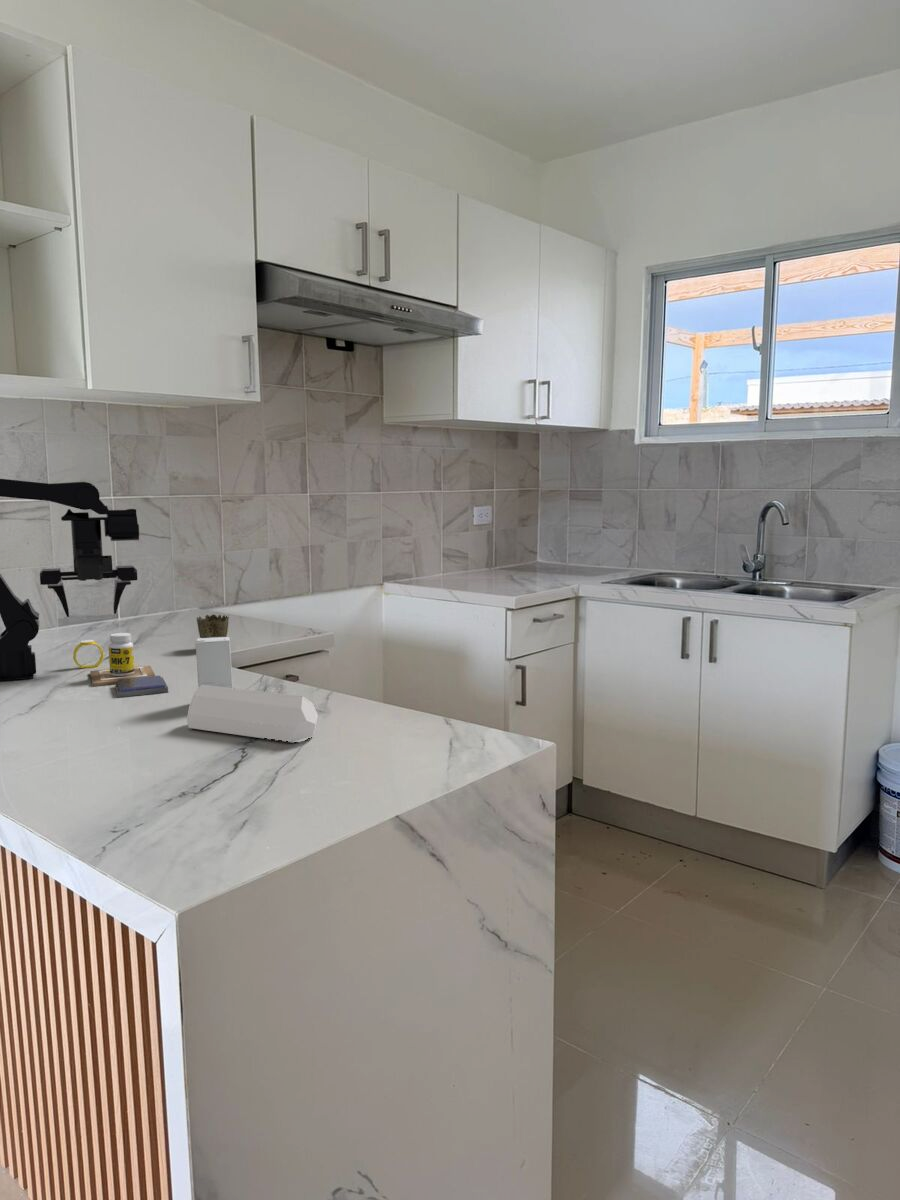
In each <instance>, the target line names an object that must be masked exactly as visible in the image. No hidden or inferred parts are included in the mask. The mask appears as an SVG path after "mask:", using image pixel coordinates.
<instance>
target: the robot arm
mask: <svg viewBox="0 0 900 1200" xmlns="http://www.w3.org/2000/svg"><path fill="white" fill-rule="evenodd" d="M0 497H1V498H12V499H22V500H25V499H26V500H33V501H34V500H36V501H42V502H43V501H45V502H51V503H55V504H56V503H57V504H58V505H61V506H62V505H63V506H67V507H71V508H75V509H79V510H83V512H82V511H81V512H80V511H79V512H78V511H77V512H73V511H72V510H71V509H70V508H68V509H67V511H66V512H65V513H64V515H62V516H61V517H60V520H61V521H63V522H68V521H69V522H70V526H71V528H70V529H71V540H72V544H71V545H72V558H73V570H72V571H71V570H70V571H68V570H67V571H61V568H59V567H58V568H42V569H41V570H40V572H39V581H40V582H39V583H40V586H41V585H43V586H44V585H45V586H47V589H53V591H54V592H55V594H56V595H57V597H58V599H59V601H60V604H61V606H62V608H63V611H64V613H65V615H66V617H67V618H70V612H69V605H68V601H67V595H66V591H65V587H64V582H63V581H74V580H77V581H80V582H86V581H89V580H95V581H101V580H103V579H114V589H113V591H114V592H113V603H112V604H113V606H112V607H113V614H114V615H117V612H118V608H119V604H120V602H121V597H122V595H123V592H124V590H125V588H126V587H127V585H128V586H129V585H132V582H131V581H134V582H135V581H138V569H137V568H136V567H135V566H134V565H132V564H131V565H116V566H115V569H113V558H112V555H103V542H102V541H103V538H102V525H101V524H102V523H101V521H103V530H104V532H103V533H104V537H109V538H110V542H123V541H126V542H128V541H133V542H134V541H139V540H140V525H139V523H138V515H137V509H136V508H126V509H109V508H108V505H105V504H104V502H103V501H102V500H101V499H100V491H99V490H98V488H97V487H96V486H95V484H93V483H91V482H87V481H74V482H59V483H57V482H56V483H55V482H53V483H47V482H38V481H37V482H36V481H29V480H28V481H27V480H17V479H7V478H0ZM88 510H89V511H90V510H91V511H92V512H95V514H98V515H106V516H90V515H89V512H84V511H88ZM0 617H1V620H2V623H3V625H4V627H5V630H3V631H2V632H1V633H0V682H4V681H16V680H27V679H34V677H35V675H36V674H37V663H36V660H37V659H36V652H34V651H33V649H32V645H30V644H29V643H30V642H31V641H33V640H34V639H35V638H36V637H37V635H38V634H39V630H40V620H39V619H40V613H39V612H38V611H36V609H34V606H33V604H32V603H31V601H30V599H29V598H26V599H25V600H24V601H23V600H21V599H20V598H19V597H17V595H15V594H14V592H13V590H12V589H11V587H10V586H9V585H8V583H7V582H6V580H5V578H4V577H3V576H2V574H1V573H0Z"/></svg>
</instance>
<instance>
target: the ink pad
mask: <svg viewBox="0 0 900 1200" xmlns="http://www.w3.org/2000/svg"><path fill="white" fill-rule="evenodd" d="M114 688H115V692H116V694H117V697H118V698H124V697H125V698H127V697H133V696H134V697H135V696H144V695H146V696H147V695H153V694H154V695H155V694H162V693H169V686H168V685H167V682H166V681H165V680H164V677H163V676H162V677H161V675H155V676H150V677H139V678H129V679H118V681H117V682H115V684H114Z"/></svg>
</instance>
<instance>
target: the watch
mask: <svg viewBox="0 0 900 1200" xmlns="http://www.w3.org/2000/svg"><path fill="white" fill-rule="evenodd" d="M93 645H94V646H96V647H97V648H98V649H99V651H100V657H99V659H98V661H97V662H96V663H95V664H90V665H82V664H80V663H79V662H78V660H77V652H78V650H79V649H80V648H82V647H83V646H93ZM104 657H105V655H104V649H103V648H102V647H101V646H100V645H99V644H98V643H96V642H95V639H84V640H81V641H80V642H79V644H78V645H76V647H75V648H74V650H73V653H72V658H73V662H75V664H76V665H77V666H78V667H80V669H90V668H97V667H98V666H100V665H101V664H102V662H103V659H104Z"/></svg>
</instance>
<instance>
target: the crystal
mask: <svg viewBox="0 0 900 1200" xmlns="http://www.w3.org/2000/svg"><path fill="white" fill-rule="evenodd" d="M318 719H319V714H318V712H317V710H316V708H315V705H314V703H313V702H311V700H309V699H307V698H306V697H304V696H303V695H295V694H287V693H281V692H280V693H278V692H270V691H262V690H261V691H260V690H253V689H252V690H251V689H244V688H236V687H235V688H234V687H233V688H228V687H220V686H211V685H201V686H200V687H199V688H198V687H197V688H196V690H195V691H194V693H193V695H192V698H191V700H190V703H189V705H188V712H187V716H186V722H187V725H188V726H187V727H188V729H194V730H202V731H209V732H215V733H216V732H217V733H222V734H231V735H237V736H244V737H251V738H258V739H264V738H267V739H266V740H271V739H275V740H274V741H278V740H282V741H281V742H286V741H288V742H287V743H293V742H292V741H296V740H300V739H303V738H307V737H311V736H313V734H314V735H315V733H314V732H316V730H315V729H316V728H317V724H318V721H319V720H318ZM246 721H247V722H246ZM253 722H254V723H253ZM261 723H262V724H261ZM268 724H269V725H268ZM276 725H277V726H276ZM283 726H284V727H283ZM313 737H314V736H313Z"/></svg>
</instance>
